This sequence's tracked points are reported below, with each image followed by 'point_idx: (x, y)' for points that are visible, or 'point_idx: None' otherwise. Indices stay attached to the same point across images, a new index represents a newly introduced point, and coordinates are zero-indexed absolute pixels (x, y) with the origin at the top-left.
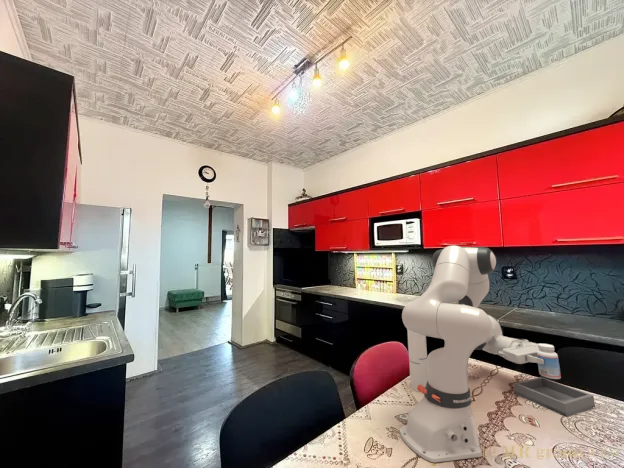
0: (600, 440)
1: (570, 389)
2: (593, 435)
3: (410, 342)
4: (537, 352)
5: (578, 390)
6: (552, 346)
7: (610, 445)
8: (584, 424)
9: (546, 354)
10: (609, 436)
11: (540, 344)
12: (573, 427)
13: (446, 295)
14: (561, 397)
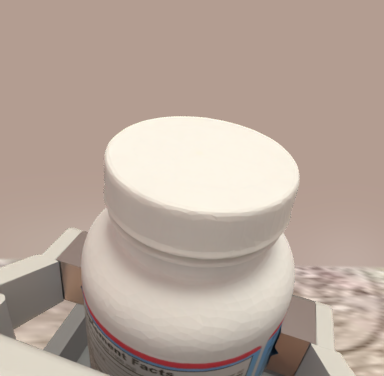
0: (363, 293)
1: (61, 356)
2: (354, 306)
3: None
4: (264, 320)
5: (72, 319)
6: (206, 121)
7: (363, 278)
8: None
9: (283, 233)
10: (311, 279)
11: (218, 190)
12: (370, 353)
13: None
14: None
